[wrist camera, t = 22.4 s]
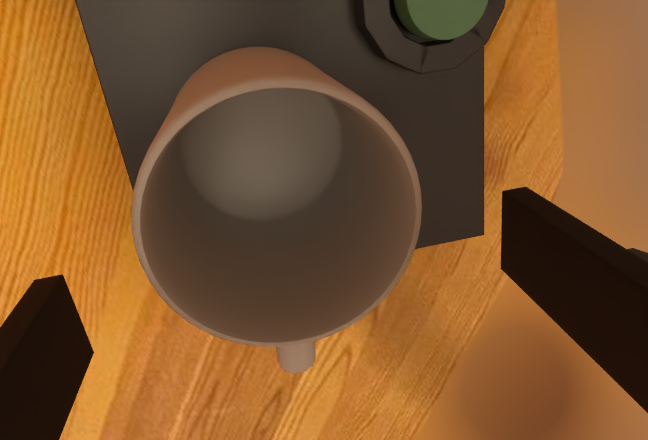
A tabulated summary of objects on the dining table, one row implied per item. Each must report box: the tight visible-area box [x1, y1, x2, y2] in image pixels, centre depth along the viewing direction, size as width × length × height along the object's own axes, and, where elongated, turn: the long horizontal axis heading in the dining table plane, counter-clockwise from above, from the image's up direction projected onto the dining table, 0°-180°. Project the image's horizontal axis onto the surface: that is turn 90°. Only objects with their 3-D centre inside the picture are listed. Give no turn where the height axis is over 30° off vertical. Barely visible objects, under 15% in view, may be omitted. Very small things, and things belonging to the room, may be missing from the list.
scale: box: [75, 0, 505, 249], centre depth 25 cm, size 18×16×4 cm
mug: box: [131, 47, 422, 373], centre depth 20 cm, size 12×8×11 cm
